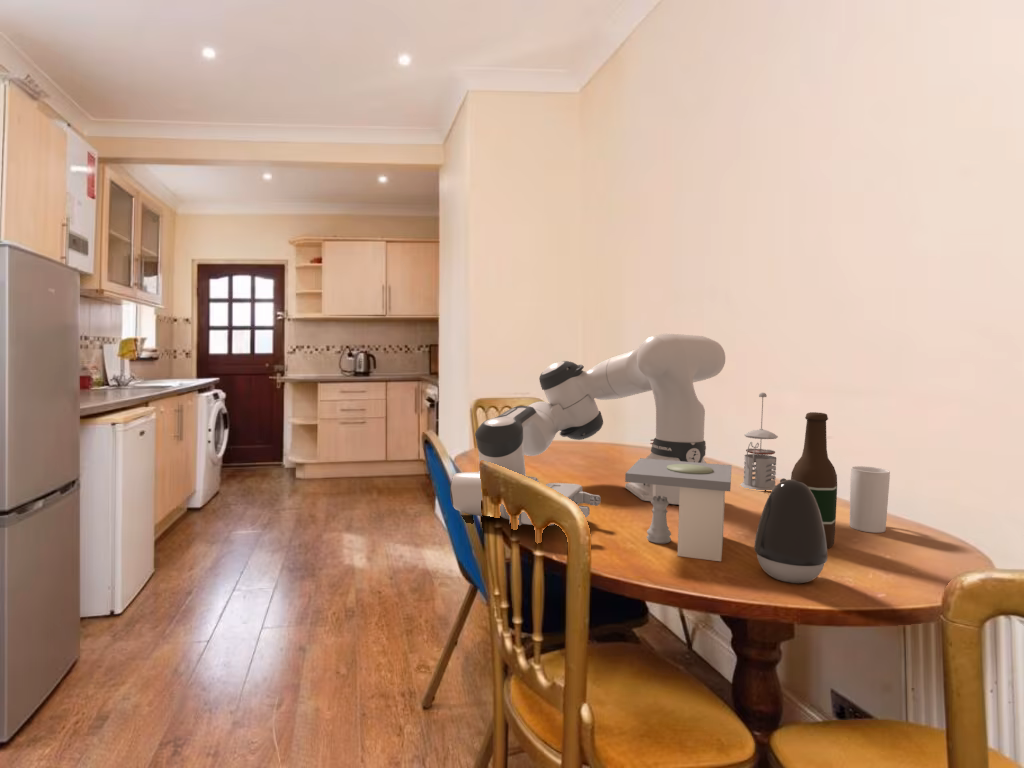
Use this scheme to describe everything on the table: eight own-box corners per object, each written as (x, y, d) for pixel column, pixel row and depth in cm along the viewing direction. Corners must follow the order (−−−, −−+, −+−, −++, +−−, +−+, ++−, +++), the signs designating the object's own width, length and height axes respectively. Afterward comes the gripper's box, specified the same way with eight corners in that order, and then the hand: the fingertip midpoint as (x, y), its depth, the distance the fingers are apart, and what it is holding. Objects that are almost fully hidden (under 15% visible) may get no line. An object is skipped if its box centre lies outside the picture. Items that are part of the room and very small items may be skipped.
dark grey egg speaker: (812, 567, 98) (816, 474, 97) (836, 592, 88) (841, 488, 87) (746, 563, 99) (750, 471, 99) (762, 586, 89) (766, 484, 88)
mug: (887, 535, 117) (890, 474, 116) (847, 529, 120) (850, 470, 120) (885, 523, 126) (888, 466, 125) (848, 518, 129) (851, 462, 128)
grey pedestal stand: (623, 550, 104) (625, 471, 104) (638, 525, 120) (640, 456, 120) (727, 564, 99) (730, 480, 98) (728, 535, 114) (731, 463, 114)
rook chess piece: (672, 538, 112) (673, 495, 112) (670, 545, 108) (671, 501, 108) (647, 535, 114) (649, 493, 113) (644, 542, 109) (646, 498, 109)
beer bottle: (816, 551, 106) (822, 415, 105) (778, 539, 113) (783, 411, 112) (844, 546, 110) (850, 414, 108) (806, 534, 116) (811, 410, 115)
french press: (785, 487, 159) (789, 393, 158) (768, 494, 151) (772, 394, 149) (748, 481, 166) (751, 390, 165) (729, 488, 157) (733, 392, 156)
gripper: (541, 502, 129) (605, 509, 125) (507, 527, 110) (581, 537, 105) (542, 473, 129) (606, 479, 124) (507, 493, 110) (581, 501, 105)
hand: (594, 506), depth 115 cm, fingers open, 8 cm apart
